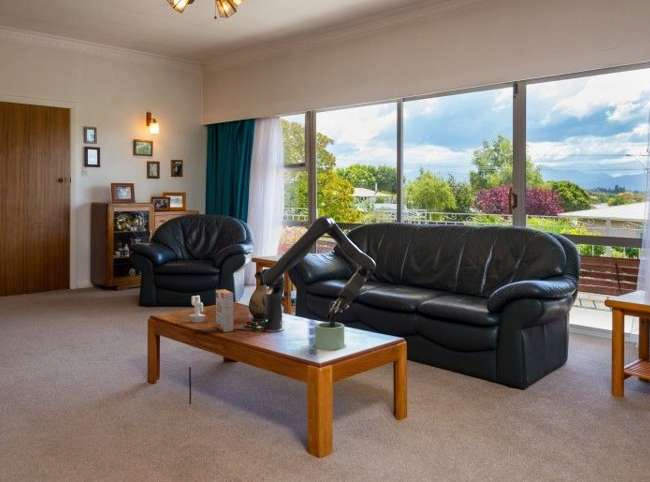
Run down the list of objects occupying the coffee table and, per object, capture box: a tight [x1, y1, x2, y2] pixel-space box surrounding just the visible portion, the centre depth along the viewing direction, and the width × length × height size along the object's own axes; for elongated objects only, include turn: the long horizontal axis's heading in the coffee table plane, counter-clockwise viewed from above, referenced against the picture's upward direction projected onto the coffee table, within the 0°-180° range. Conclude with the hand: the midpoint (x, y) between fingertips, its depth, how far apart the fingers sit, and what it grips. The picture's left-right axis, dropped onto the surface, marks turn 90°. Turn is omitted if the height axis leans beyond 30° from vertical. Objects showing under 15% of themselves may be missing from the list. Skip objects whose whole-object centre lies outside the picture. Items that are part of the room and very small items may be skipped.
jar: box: [314, 321, 345, 351], centre depth 269 cm, size 14×14×10 cm
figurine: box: [188, 295, 207, 323], centre depth 325 cm, size 7×9×15 cm
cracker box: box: [215, 289, 234, 333], centre depth 304 cm, size 14×6×21 cm, turn 27°
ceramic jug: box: [248, 268, 269, 321], centre depth 333 cm, size 17×15×30 cm
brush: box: [329, 310, 336, 328], centre depth 271 cm, size 5×5×15 cm
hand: (329, 319), depth 270 cm, fingers closed on brush, 2 cm apart
